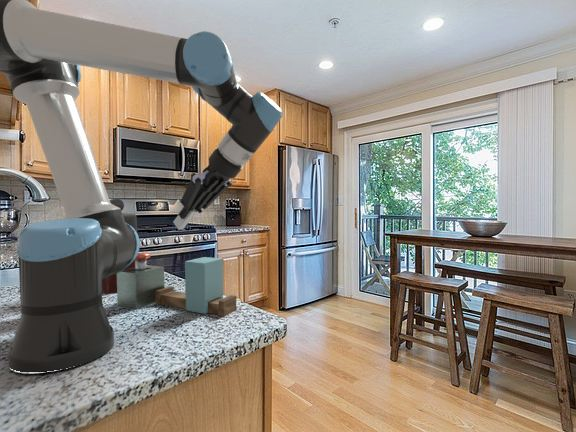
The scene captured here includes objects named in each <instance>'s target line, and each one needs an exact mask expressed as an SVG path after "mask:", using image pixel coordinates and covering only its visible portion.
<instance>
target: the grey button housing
mask: <svg viewBox="0 0 576 432" xmlns="http://www.w3.org/2000/svg"><path fill="white" fill-rule="evenodd" d="M163 288H165V267H164V266H159V265H149V264H147V270H143V271H135V267H134V268H129V269H124V270H122V271H121V272H119V273H117V293H116V297H117V299H116V300H117V303H116V304H117V307H124V308H127V309H128V308H129V309H132V310H138V309H142V308H144V307H147V306H150V305H152V304H155V291H156V290H160V289H163Z"/></svg>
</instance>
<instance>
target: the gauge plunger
mask: <svg viewBox="0 0 576 432" xmlns="http://www.w3.org/2000/svg"><path fill="white" fill-rule="evenodd" d="M150 258H151V253H150V252H138V254H137V256H136V258H135V271H143V270H147V265H148V263H147V262H148V261H147V259H150Z"/></svg>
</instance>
